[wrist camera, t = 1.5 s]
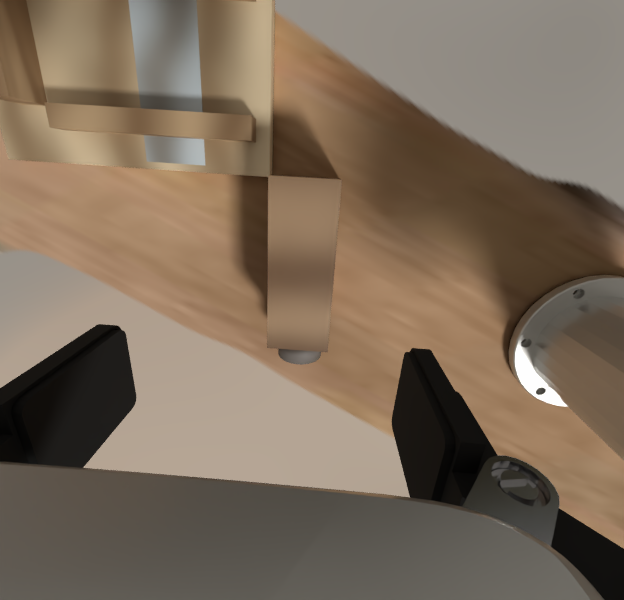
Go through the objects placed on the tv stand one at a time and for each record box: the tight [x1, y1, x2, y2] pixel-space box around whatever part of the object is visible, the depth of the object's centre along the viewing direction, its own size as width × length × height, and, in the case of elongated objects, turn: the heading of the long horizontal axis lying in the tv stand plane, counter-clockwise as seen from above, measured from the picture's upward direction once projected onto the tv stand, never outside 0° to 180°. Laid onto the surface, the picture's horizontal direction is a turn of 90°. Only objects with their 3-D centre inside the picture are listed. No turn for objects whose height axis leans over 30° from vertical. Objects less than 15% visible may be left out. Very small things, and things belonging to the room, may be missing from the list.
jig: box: [0, 0, 275, 177], centre depth 21 cm, size 20×14×4 cm
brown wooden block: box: [267, 175, 342, 364], centre depth 25 cm, size 14×4×6 cm, turn 177°
